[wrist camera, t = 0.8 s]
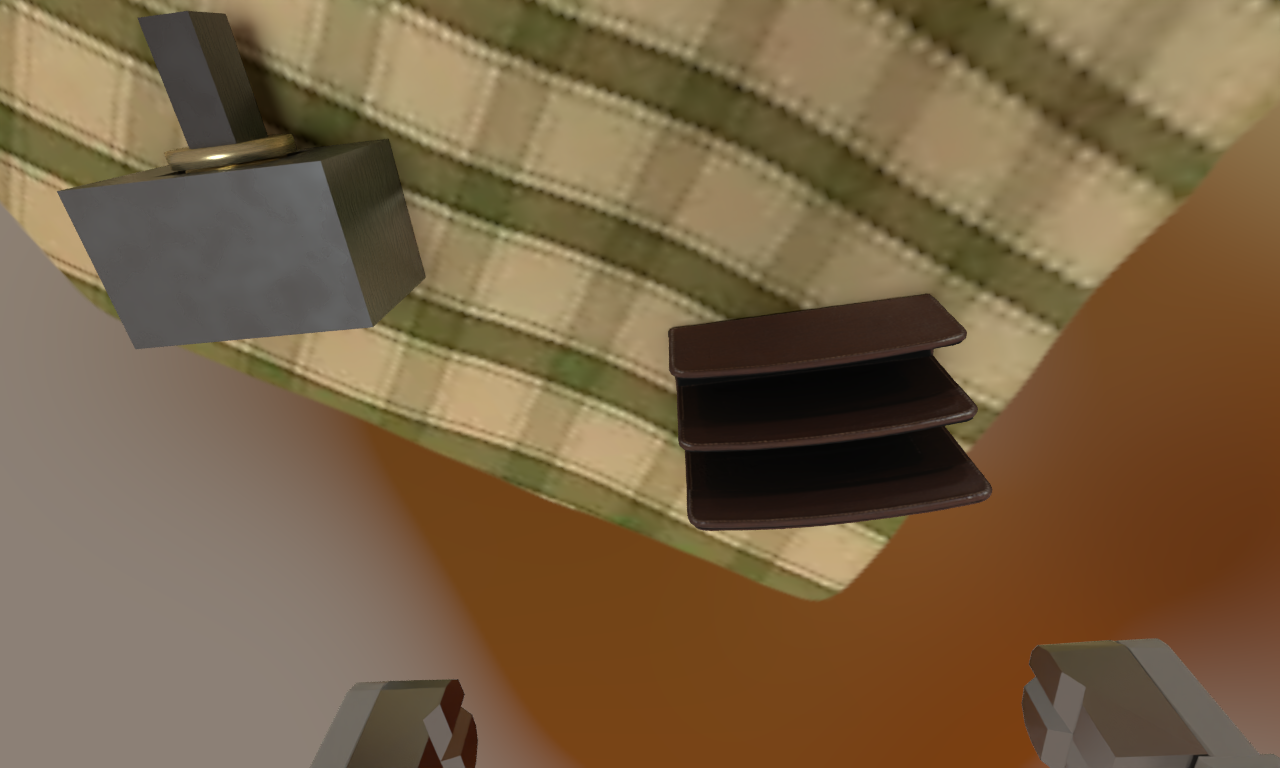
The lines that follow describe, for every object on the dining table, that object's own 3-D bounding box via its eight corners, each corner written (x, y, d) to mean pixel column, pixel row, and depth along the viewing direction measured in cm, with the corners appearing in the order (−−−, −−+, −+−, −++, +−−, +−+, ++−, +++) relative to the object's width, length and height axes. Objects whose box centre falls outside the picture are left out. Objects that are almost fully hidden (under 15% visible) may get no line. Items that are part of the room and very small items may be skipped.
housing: (172, 164, 47) (56, 191, 38) (388, 138, 46) (320, 160, 37) (227, 297, 51) (135, 349, 43) (425, 277, 50) (373, 327, 41)
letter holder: (926, 406, 54) (1005, 516, 41) (684, 435, 56) (688, 547, 43) (930, 290, 49) (1020, 373, 37) (667, 326, 51) (667, 416, 39)
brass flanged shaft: (167, 25, 42) (76, 21, 35) (275, 10, 41) (202, 3, 35) (256, 259, 48) (193, 291, 42) (350, 249, 48) (300, 280, 41)
